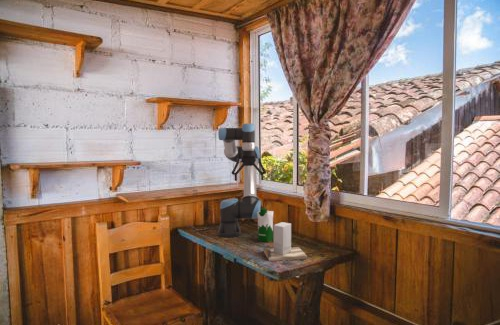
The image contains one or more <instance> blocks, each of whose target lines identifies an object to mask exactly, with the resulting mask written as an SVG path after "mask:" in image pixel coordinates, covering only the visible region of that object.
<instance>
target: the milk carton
mask: <svg viewBox="0 0 500 325" xmlns="http://www.w3.org/2000/svg"><path fill="white" fill-rule="evenodd" d="M274 212H275V211H274V210H268V208H266V207H264V208H263V207H262V208H260V211H259V212H257V216H258V218H257V242H261V243H262V242H263V243H266V244H267V243H269V242H272V241H274V223H273V222H274Z"/></svg>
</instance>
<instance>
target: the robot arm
mask: <svg viewBox="0 0 500 325" xmlns="http://www.w3.org/2000/svg"><path fill="white" fill-rule="evenodd" d="M255 131H256V127H255V123H242V126H241V127H220V128H219V129H218V133H217V136H218V140H219V141H222V142H223V147H224V148H223V154H224V156H225V157H226V158H227V159H228V160H229V161H231V162H234V163H235V165H234V167H233V169H232V171H231V174H232V175H234V181H235V182H236V187H237V188H238V187H239V175H238V174H240V172H241V170H242V169H243V195H242V197H241V200H239V199H238V198H233V197H232V198H228V199H224V200H221V201H220V207H219V209H220V212H219V214H220V216H219V217H220V221H219V222H220V224H219V227H218V230H217V235H218V236H219V237H222V238H235V237H239V236H241V235H242V230H241V228H240V223H239V220H241V219H242V220H245V219H246V220H248V219H249V220H253V219H258V216H257V212H259V211H260V209H261V207H262V201H261V200H260V198H259V197H258V196H257V172H258V173H259V175H258V177H259V178H258V179H259V184H258V185H259V187H262V181H263V180H264V175H265V174H267V172H266V169H265V167H264V165H263V163H262V161H261V160H262V159H261V157H260V156H261V154H260V153H261V152H260V149H259V147H258V146H256V132H255ZM236 141H241V145H240V146H238V145H236ZM240 163H241V165H240V166H239V164H240ZM258 165H259V166H260V168H261V169H260V168H259V167H258ZM238 166H239V168H238ZM237 168H238V169H237Z"/></svg>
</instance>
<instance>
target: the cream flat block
mask: <svg viewBox="0 0 500 325" xmlns="http://www.w3.org/2000/svg"><path fill="white" fill-rule="evenodd" d="M263 253H264V255H265V256H266V258H267V260H268V261H269V262H273V261H289V260H291V261H293V260H307V259H308V256H307V254H306V252H304V251H303V249H301V247H299V246H294V247H292V246H291V252H289V253H287V254H285V255H279V254H274V247H273V248H269V245H268V244H267V242H263Z"/></svg>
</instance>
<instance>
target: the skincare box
mask: <svg viewBox="0 0 500 325" xmlns="http://www.w3.org/2000/svg"><path fill="white" fill-rule="evenodd" d="M291 247H292V223H290V222H284V221H283V222H282V221H281V222H279V223H275V224H273V248H274V254H279V255H285V254H287V253H289V252H291Z"/></svg>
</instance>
